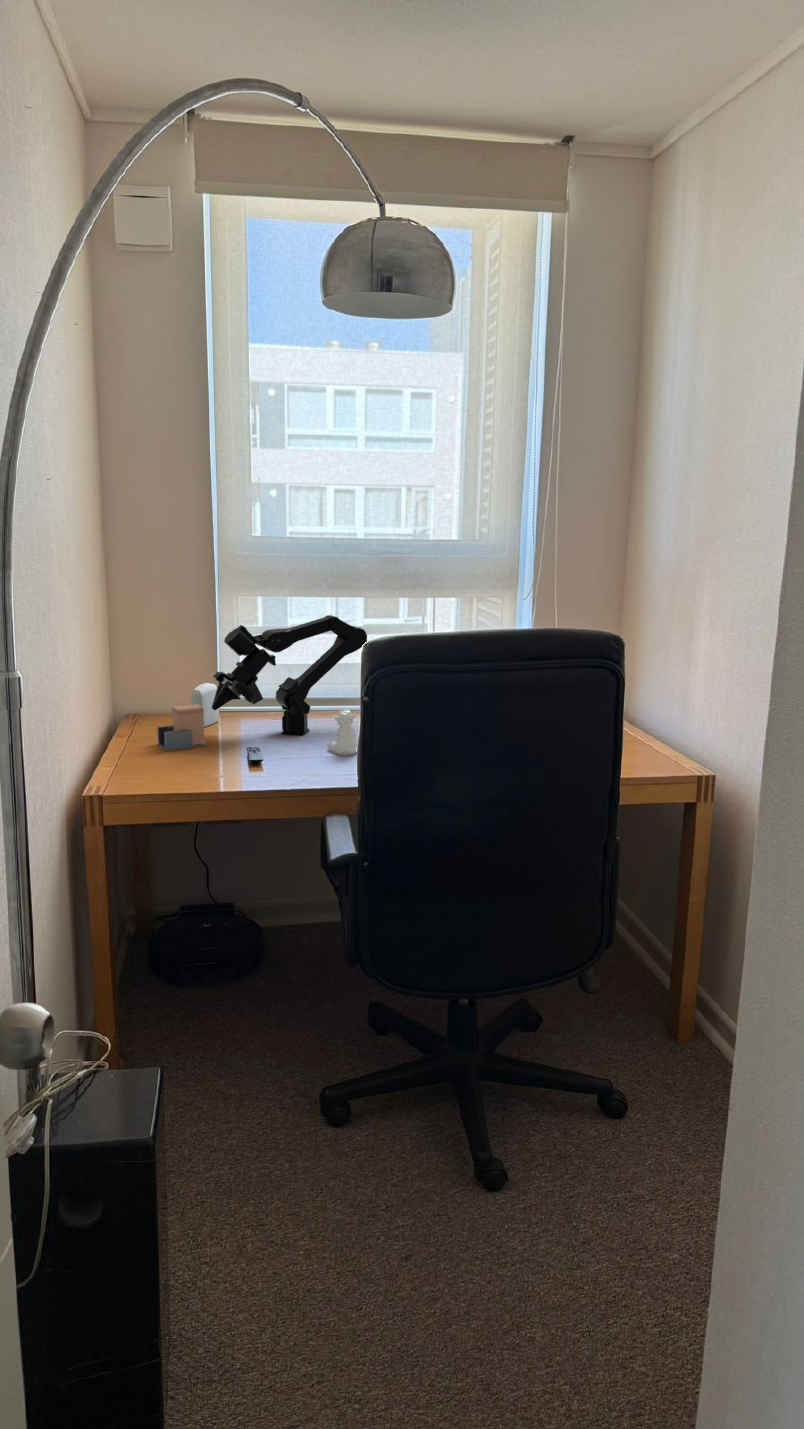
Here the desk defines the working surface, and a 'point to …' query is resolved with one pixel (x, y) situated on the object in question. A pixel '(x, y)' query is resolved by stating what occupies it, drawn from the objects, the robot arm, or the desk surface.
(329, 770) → the desk surface
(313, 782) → the desk surface
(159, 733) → the chute
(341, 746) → the white creature statuette
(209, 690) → the photo printer
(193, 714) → the block
